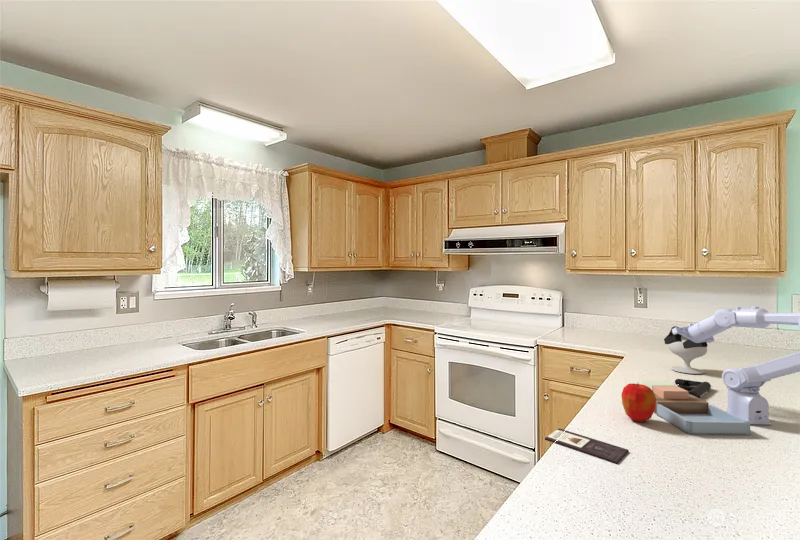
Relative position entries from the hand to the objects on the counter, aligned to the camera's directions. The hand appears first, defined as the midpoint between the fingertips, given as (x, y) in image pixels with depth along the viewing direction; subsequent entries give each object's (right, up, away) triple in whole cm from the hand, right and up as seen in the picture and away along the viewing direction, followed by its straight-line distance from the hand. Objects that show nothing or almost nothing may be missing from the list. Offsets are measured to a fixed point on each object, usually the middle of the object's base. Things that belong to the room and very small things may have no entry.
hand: (674, 343), depth 143 cm
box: (-12, -19, -27) cm, 35 cm away
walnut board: (-11, -19, -11) cm, 25 cm away
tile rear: (-11, -15, -8) cm, 20 cm away
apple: (-29, -19, -24) cm, 42 cm away
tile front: (-11, -15, -14) cm, 23 cm away
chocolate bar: (-53, -20, -41) cm, 70 cm away
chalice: (+28, -19, +31) cm, 46 cm away
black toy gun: (+6, -19, +5) cm, 21 cm away
